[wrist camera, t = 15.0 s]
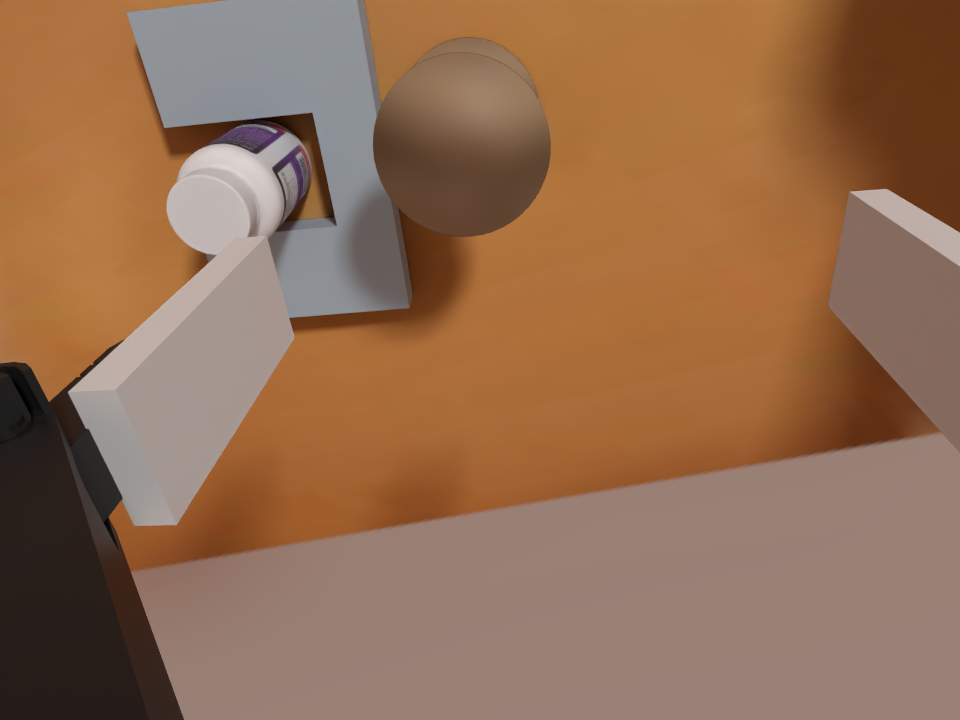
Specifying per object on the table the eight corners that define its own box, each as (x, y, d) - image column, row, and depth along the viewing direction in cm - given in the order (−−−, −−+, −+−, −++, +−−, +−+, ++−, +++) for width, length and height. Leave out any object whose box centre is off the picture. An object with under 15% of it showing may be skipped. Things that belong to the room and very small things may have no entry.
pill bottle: (206, 165, 40) (128, 215, 31) (258, 98, 38) (189, 133, 29) (279, 226, 41) (224, 290, 33) (332, 165, 39) (287, 217, 31)
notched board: (144, 11, 35) (126, 12, 34) (361, -15, 35) (354, -15, 33) (238, 309, 44) (228, 322, 43) (412, 295, 44) (409, 308, 42)
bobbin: (389, 45, 36) (357, 64, 28) (534, 29, 35) (546, 43, 27) (411, 189, 40) (389, 243, 32) (542, 177, 39) (554, 228, 31)
